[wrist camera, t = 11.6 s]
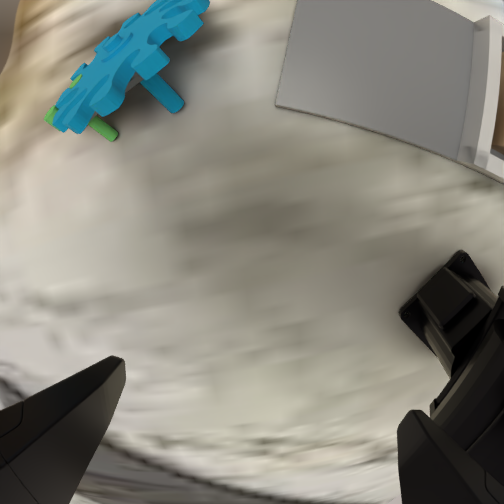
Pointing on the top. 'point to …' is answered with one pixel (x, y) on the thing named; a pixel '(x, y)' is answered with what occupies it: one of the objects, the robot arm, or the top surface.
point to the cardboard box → (499, 115)
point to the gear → (127, 67)
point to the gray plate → (399, 74)
